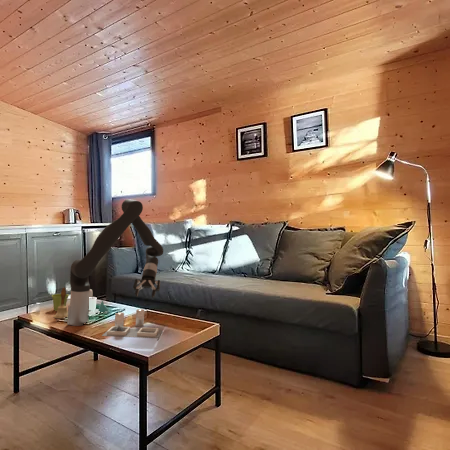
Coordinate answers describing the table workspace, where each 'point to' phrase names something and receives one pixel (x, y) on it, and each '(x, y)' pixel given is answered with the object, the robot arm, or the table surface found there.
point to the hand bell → (62, 306)
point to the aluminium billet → (140, 317)
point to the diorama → (102, 307)
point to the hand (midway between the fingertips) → (144, 296)
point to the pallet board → (134, 332)
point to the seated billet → (119, 321)
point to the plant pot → (58, 300)
